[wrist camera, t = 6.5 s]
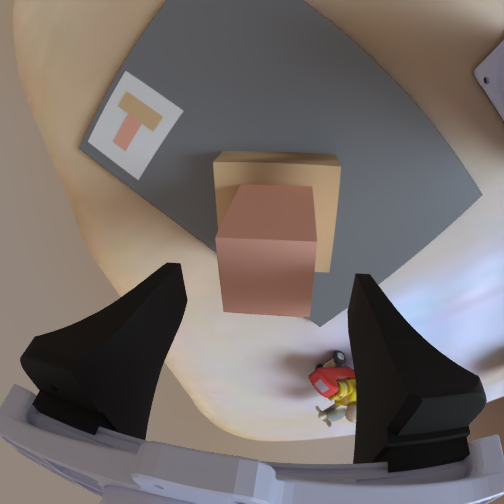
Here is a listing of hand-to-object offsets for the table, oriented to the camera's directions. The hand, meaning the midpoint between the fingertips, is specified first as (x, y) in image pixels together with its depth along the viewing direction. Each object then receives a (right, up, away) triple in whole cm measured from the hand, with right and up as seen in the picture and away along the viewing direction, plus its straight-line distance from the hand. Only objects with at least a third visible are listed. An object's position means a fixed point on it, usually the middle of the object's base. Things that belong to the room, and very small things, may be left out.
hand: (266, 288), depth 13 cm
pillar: (+1, +3, +5) cm, 7 cm away
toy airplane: (+10, -11, +17) cm, 23 cm away
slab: (+1, +5, +8) cm, 9 cm away
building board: (+1, +8, +7) cm, 10 cm away
